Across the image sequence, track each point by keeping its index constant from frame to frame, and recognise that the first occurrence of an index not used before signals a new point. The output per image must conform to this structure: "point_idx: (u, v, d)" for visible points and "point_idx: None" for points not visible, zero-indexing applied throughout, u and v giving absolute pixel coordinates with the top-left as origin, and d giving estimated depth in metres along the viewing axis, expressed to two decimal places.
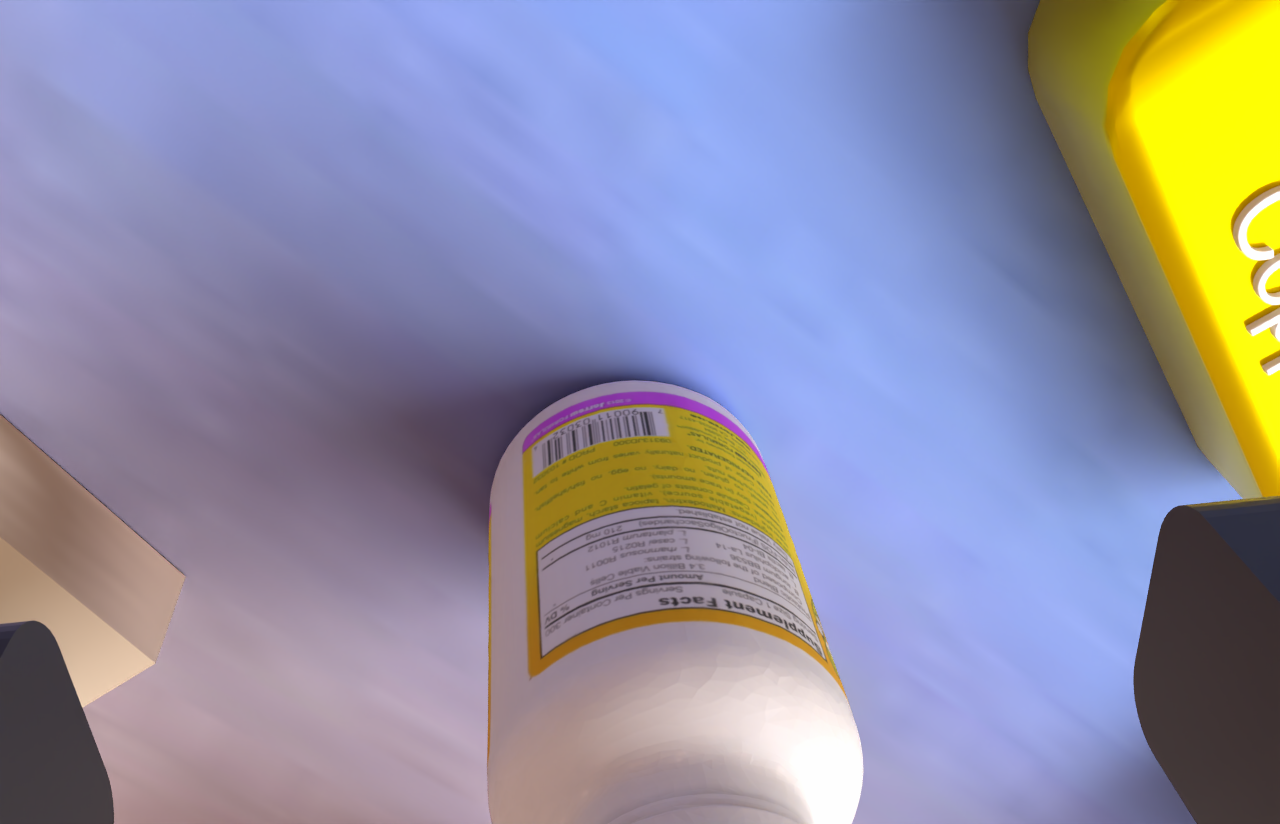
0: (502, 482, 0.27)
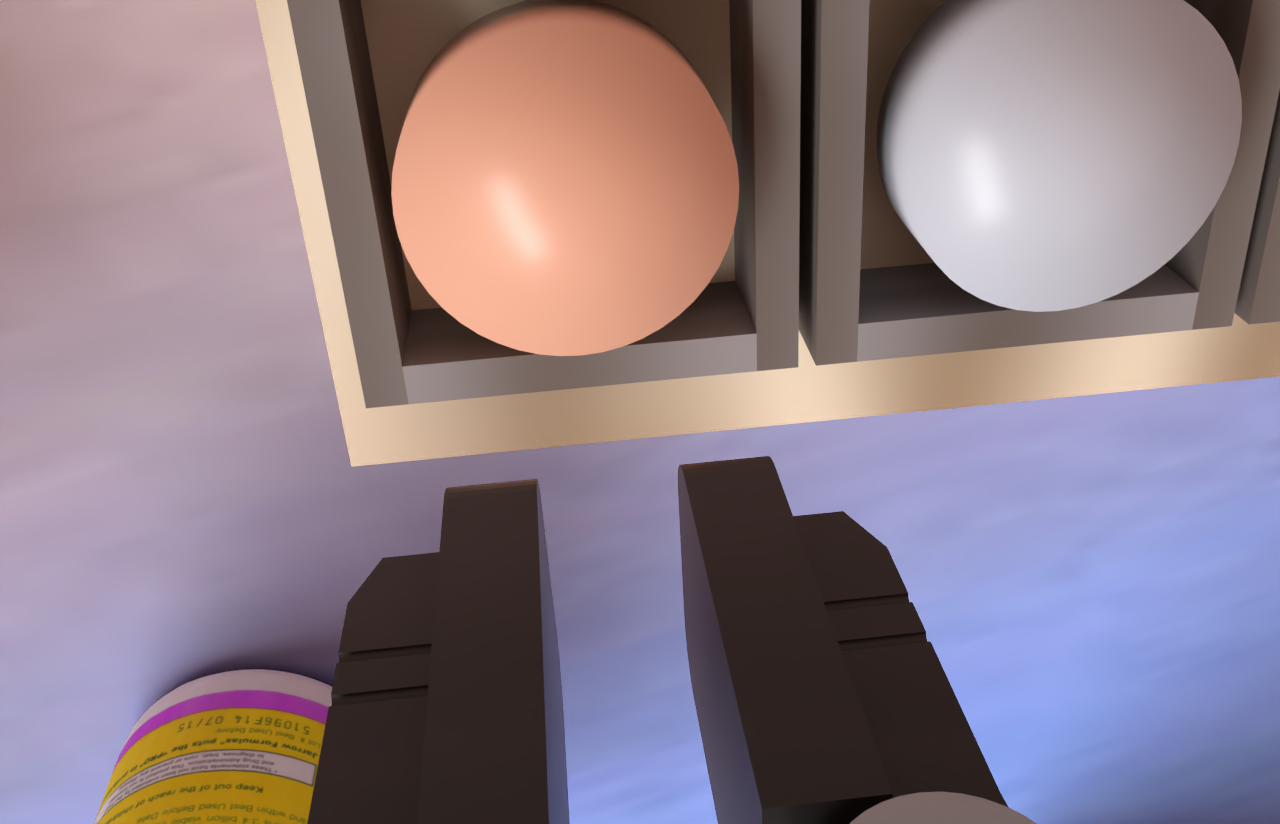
0: None
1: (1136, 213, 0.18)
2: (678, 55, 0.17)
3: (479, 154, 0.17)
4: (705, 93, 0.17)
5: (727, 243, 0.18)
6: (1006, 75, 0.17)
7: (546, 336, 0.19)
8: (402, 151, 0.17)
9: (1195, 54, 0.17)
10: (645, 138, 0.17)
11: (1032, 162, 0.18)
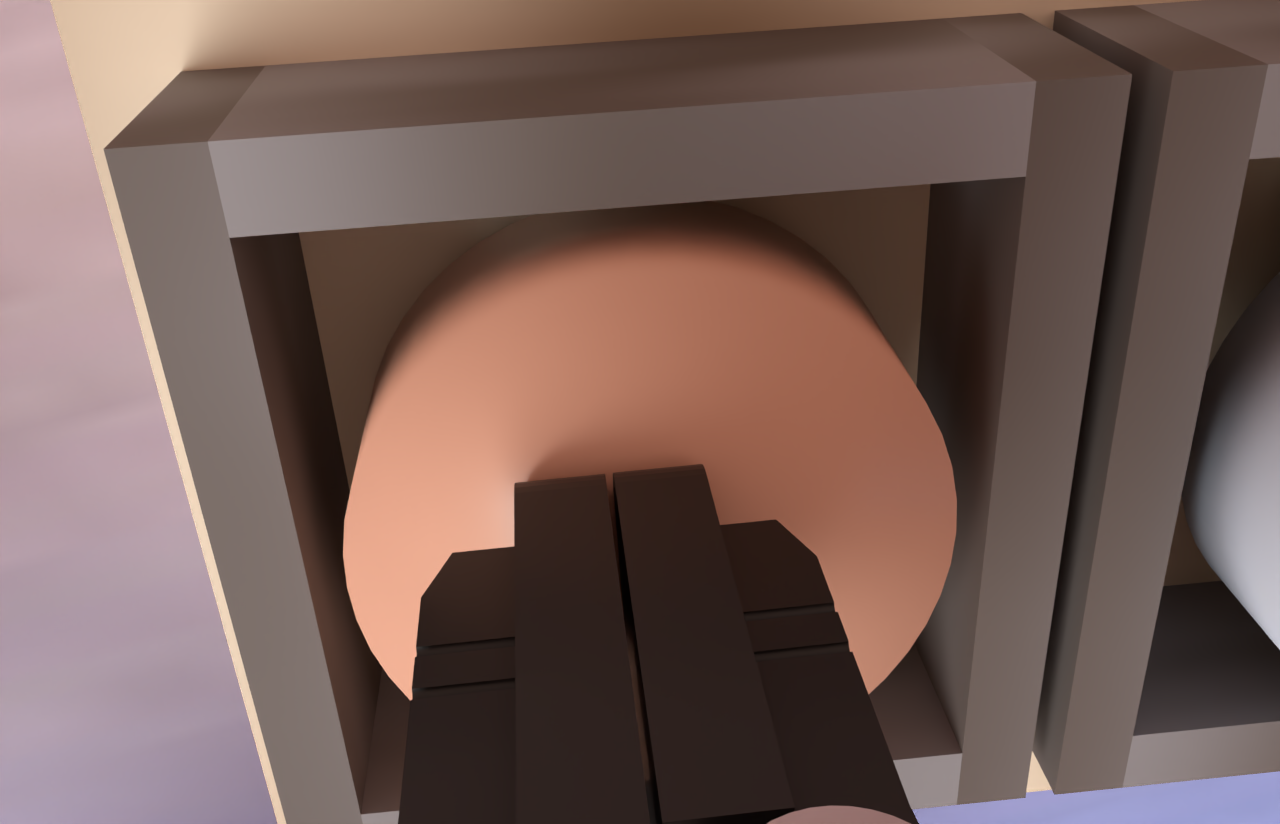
0: None
1: None
2: (856, 307, 0.10)
3: (501, 490, 0.09)
4: (911, 387, 0.09)
5: (926, 616, 0.10)
6: None
7: None
8: (363, 488, 0.09)
9: None
10: (799, 461, 0.10)
11: None
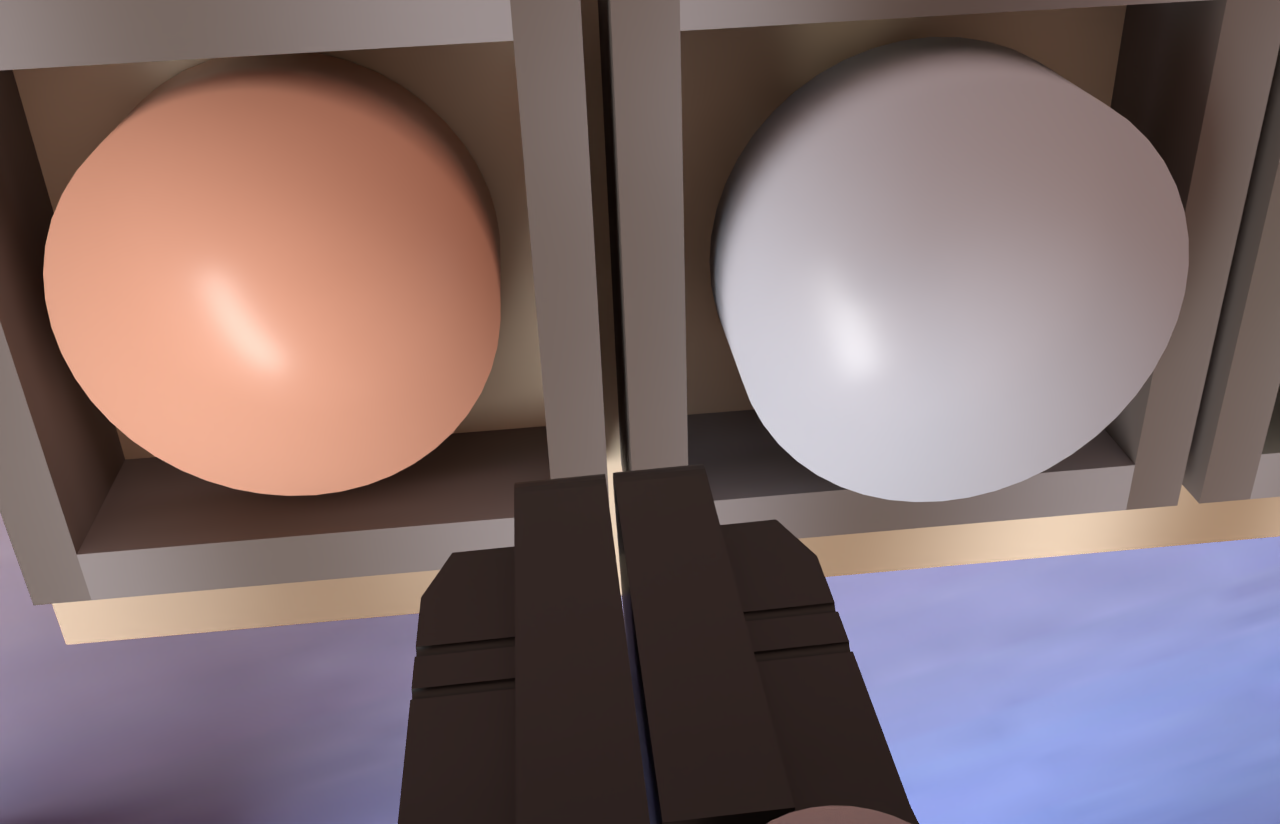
0: None
1: (1047, 381, 0.14)
2: (420, 129, 0.14)
3: (155, 252, 0.13)
4: (447, 180, 0.13)
5: (490, 363, 0.14)
6: (865, 203, 0.12)
7: (268, 472, 0.15)
8: (54, 248, 0.13)
9: (1125, 178, 0.13)
10: (372, 235, 0.13)
11: (904, 316, 0.13)
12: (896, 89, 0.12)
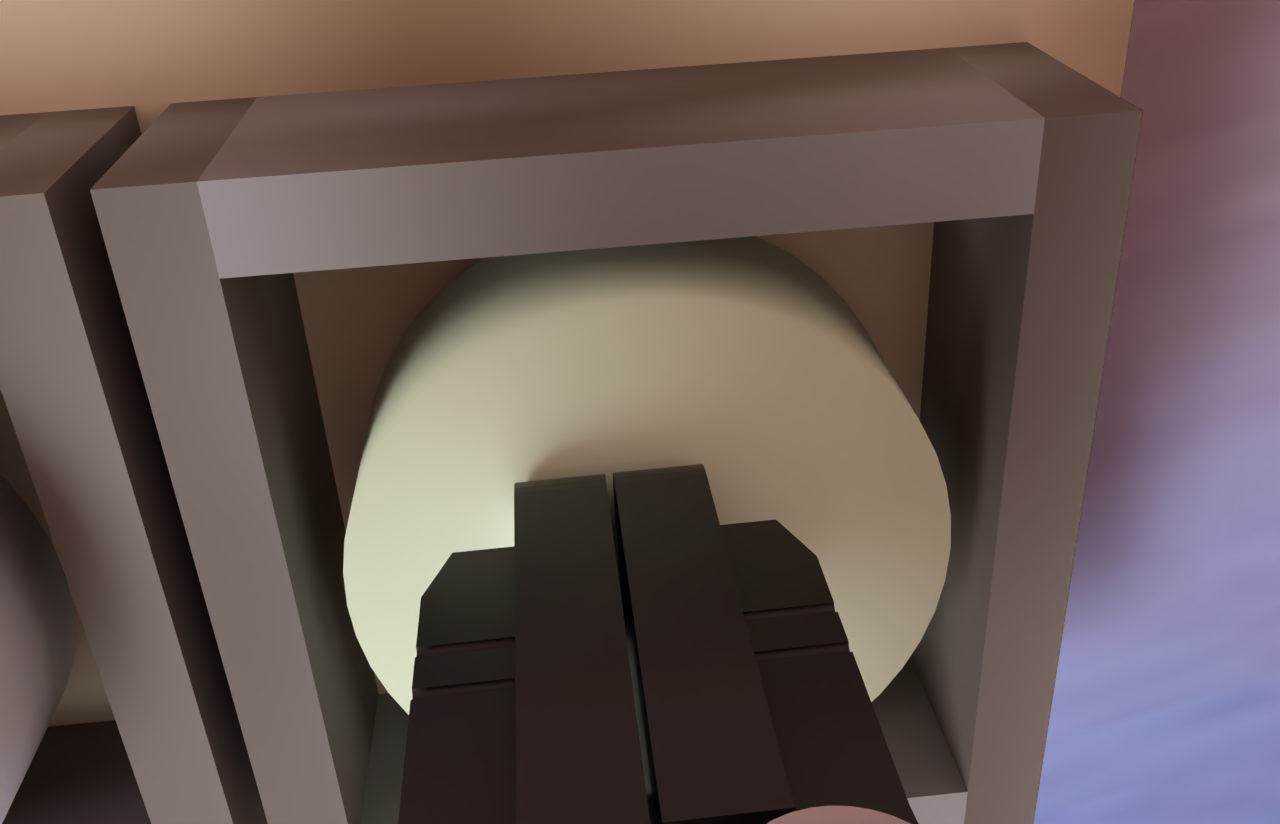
0: None
1: None
2: None
3: None
4: None
5: None
6: None
7: None
8: None
9: None
10: None
11: None
12: None
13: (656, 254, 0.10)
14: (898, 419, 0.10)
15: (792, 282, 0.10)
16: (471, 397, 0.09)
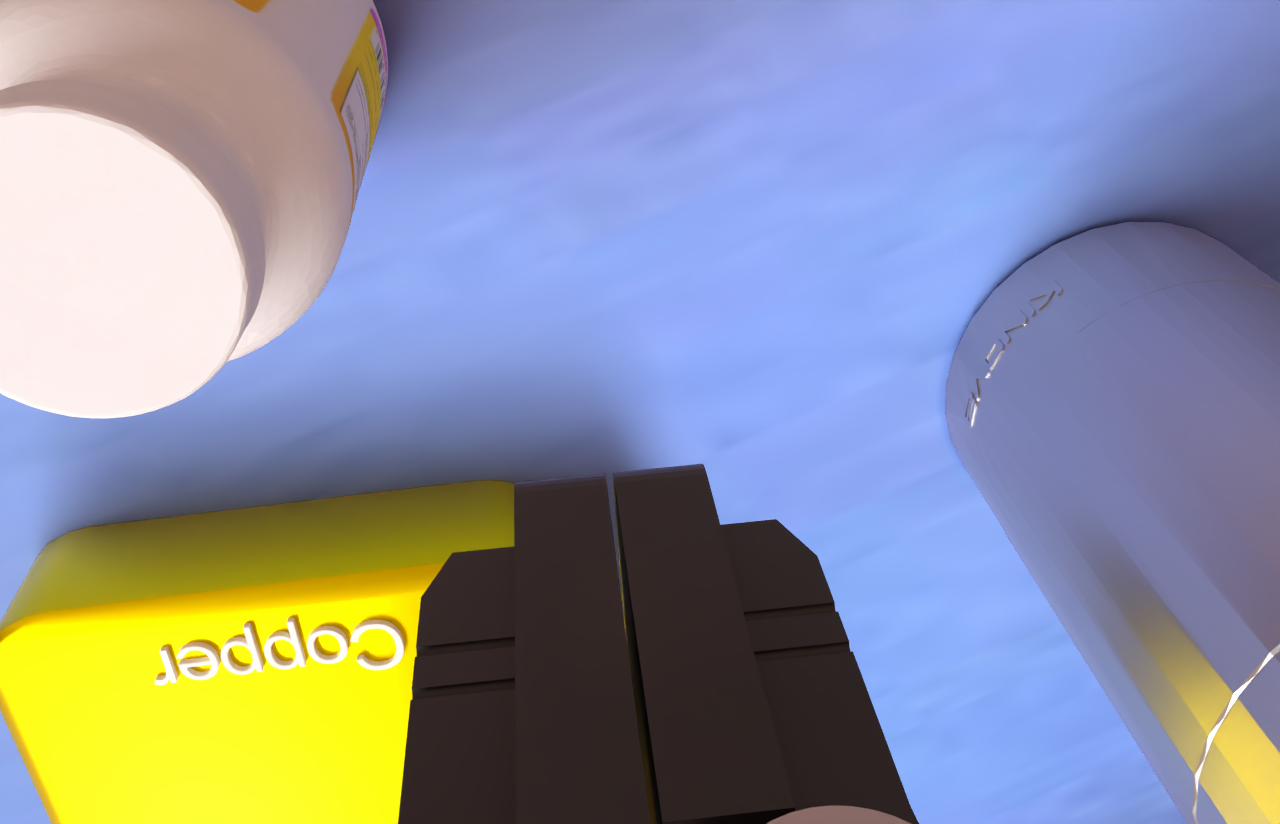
0: None
1: None
2: None
3: None
4: None
5: None
6: None
7: None
8: None
9: None
10: None
11: None
12: None
13: None
14: None
15: None
16: None
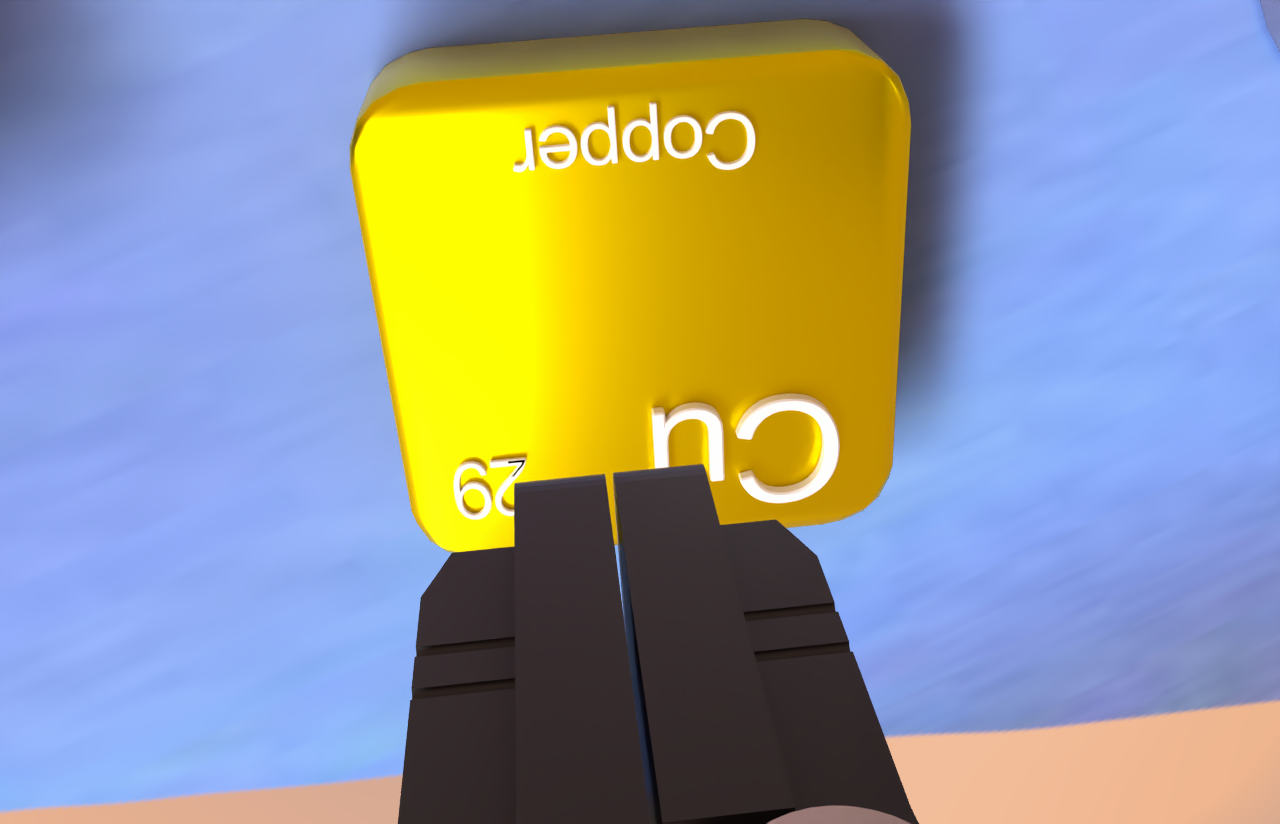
0: None
1: None
2: None
3: None
4: None
5: None
6: None
7: None
8: None
9: None
10: None
11: None
12: None
13: None
14: None
15: None
16: None
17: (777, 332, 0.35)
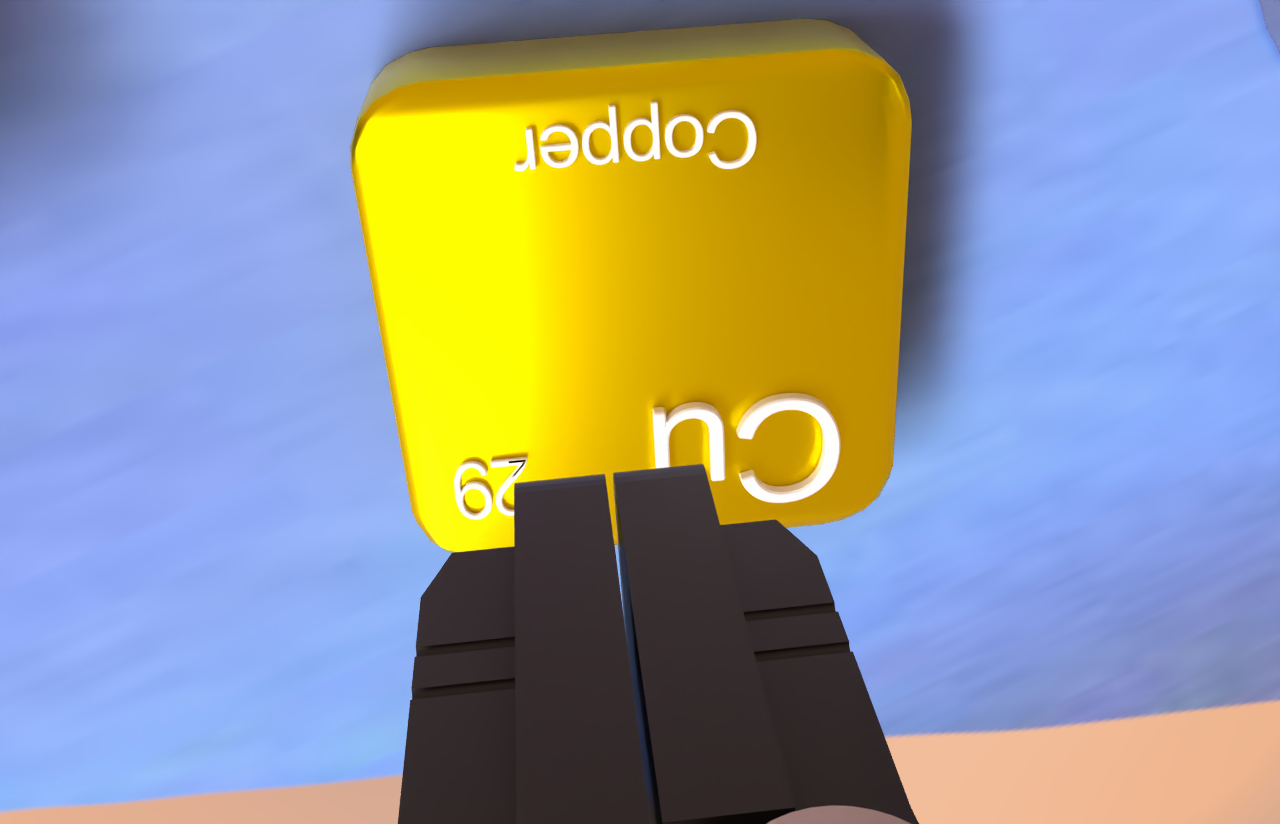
0: None
1: None
2: None
3: None
4: None
5: None
6: None
7: None
8: None
9: None
10: None
11: None
12: None
13: None
14: None
15: None
16: None
17: (778, 332, 0.35)
